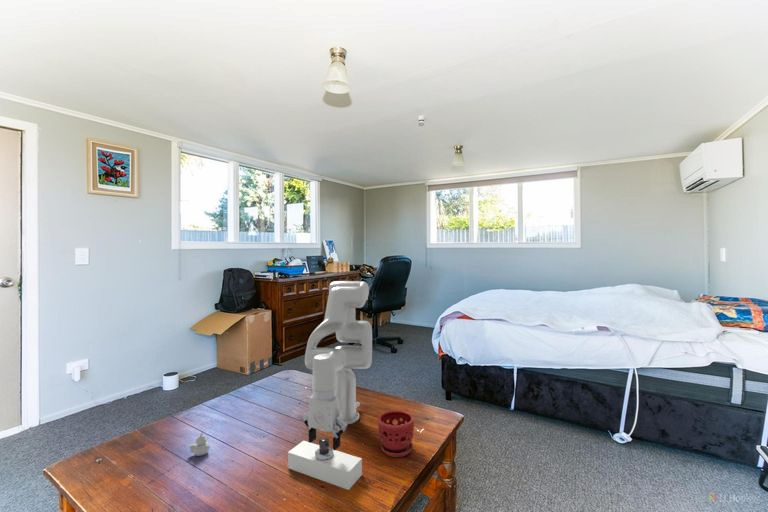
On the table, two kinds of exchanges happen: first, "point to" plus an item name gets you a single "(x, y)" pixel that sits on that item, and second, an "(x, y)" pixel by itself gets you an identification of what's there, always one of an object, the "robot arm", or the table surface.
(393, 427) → the plant pot
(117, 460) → the table surface
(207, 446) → the grey rounded lumpy piece
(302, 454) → the bar
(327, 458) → the silver and black post
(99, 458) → the table surface
